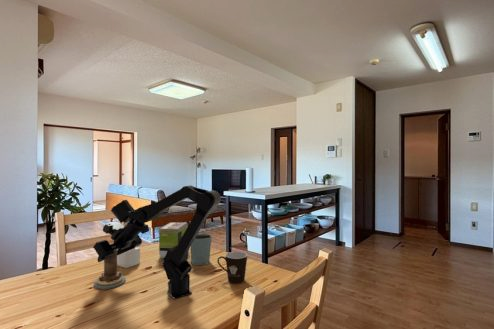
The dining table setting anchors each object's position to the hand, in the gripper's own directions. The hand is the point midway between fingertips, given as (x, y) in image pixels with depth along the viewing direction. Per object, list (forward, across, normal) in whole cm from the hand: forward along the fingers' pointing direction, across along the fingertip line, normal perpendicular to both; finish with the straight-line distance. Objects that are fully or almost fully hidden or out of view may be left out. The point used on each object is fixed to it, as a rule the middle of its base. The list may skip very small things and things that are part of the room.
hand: (107, 257), depth 106 cm
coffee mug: (-24, -20, +38) cm, 49 cm away
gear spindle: (+4, 0, +6) cm, 8 cm away
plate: (+6, 0, +8) cm, 9 cm away
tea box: (+5, -39, +9) cm, 40 cm away
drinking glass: (-8, -34, +22) cm, 41 cm away
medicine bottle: (+12, -18, +2) cm, 22 cm away
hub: (+6, 0, +8) cm, 9 cm away
